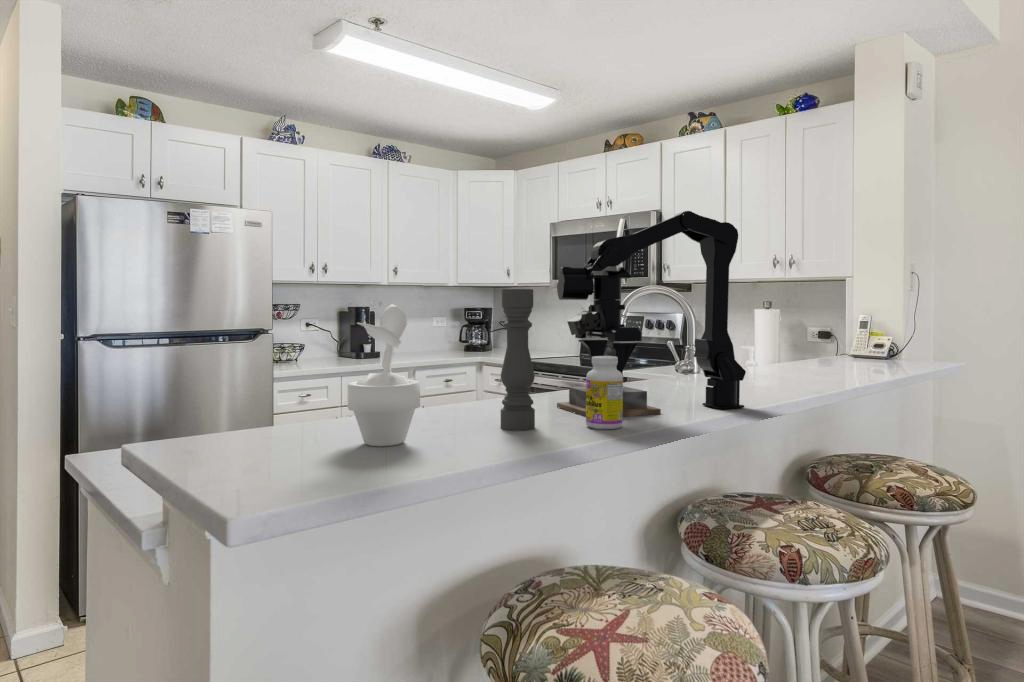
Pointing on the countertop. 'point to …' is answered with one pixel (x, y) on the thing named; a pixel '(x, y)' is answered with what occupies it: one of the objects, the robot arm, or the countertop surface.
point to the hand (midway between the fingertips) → (606, 374)
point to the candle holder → (517, 361)
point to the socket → (631, 402)
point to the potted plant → (384, 388)
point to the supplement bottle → (604, 394)
